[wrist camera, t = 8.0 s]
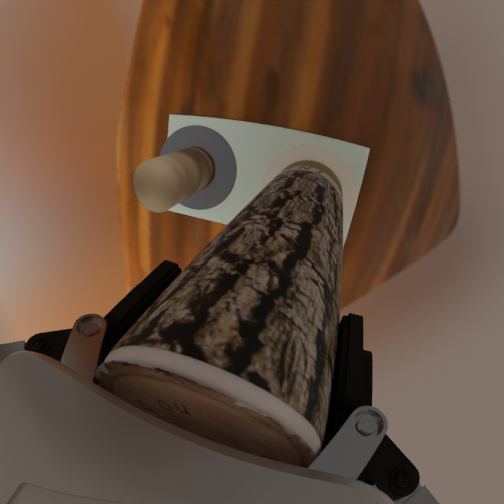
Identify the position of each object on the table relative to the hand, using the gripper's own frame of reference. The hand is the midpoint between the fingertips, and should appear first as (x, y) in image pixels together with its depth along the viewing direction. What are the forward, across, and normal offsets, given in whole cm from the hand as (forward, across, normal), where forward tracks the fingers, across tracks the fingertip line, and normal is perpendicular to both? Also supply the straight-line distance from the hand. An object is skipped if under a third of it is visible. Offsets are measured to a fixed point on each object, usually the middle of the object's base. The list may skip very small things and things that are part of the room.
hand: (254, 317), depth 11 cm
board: (+21, +6, 0) cm, 22 cm away
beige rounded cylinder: (+20, +13, 0) cm, 24 cm away
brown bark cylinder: (+19, 0, 0) cm, 19 cm away
